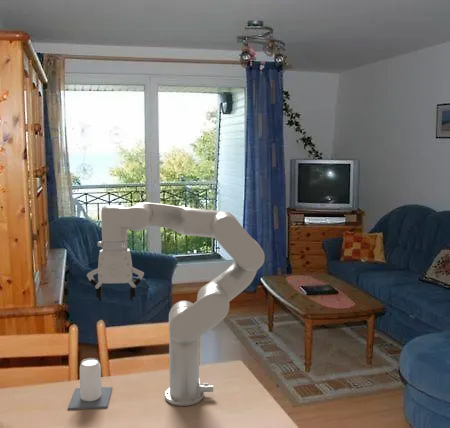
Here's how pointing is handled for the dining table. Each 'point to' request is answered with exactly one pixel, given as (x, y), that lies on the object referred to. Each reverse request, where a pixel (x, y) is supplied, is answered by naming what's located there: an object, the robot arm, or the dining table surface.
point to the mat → (100, 403)
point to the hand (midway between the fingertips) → (116, 299)
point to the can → (90, 379)
